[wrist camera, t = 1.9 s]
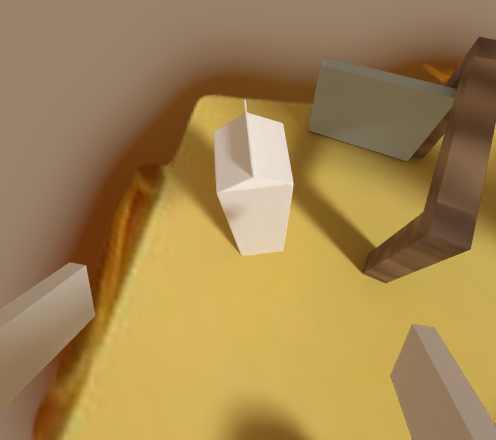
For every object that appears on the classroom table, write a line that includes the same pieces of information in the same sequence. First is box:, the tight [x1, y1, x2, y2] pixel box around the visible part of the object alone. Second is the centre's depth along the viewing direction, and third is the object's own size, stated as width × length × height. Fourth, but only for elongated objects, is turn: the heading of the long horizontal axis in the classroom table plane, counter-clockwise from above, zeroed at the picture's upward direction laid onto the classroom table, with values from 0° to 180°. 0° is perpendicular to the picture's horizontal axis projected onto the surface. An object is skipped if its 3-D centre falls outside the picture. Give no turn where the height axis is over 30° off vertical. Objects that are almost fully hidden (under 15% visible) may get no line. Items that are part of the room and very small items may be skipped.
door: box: [308, 57, 457, 161], centre depth 38 cm, size 16×3×12 cm, turn 64°
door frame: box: [363, 37, 496, 283], centre depth 31 cm, size 24×3×16 cm, turn 154°
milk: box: [213, 100, 294, 256], centre depth 29 cm, size 6×6×22 cm
